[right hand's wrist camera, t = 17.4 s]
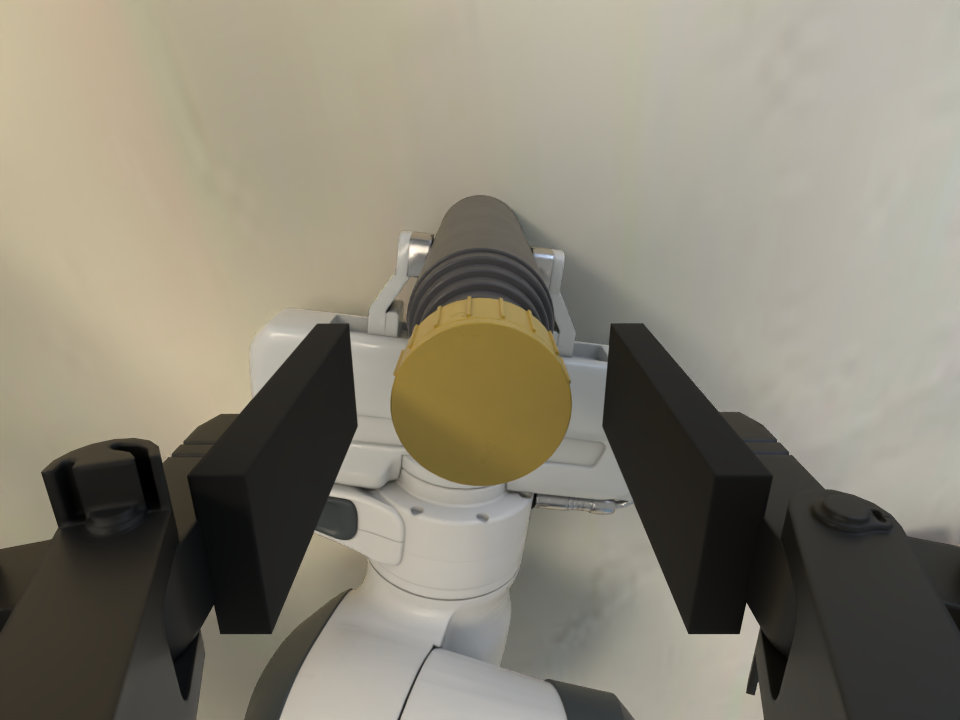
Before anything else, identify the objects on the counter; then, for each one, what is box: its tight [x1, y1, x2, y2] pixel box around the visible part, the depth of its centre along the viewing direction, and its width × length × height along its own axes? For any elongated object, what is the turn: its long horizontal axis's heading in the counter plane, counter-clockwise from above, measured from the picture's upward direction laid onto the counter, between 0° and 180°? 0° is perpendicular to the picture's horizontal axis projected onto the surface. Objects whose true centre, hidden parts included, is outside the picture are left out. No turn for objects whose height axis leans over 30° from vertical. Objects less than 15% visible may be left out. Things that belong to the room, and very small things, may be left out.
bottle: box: [407, 195, 555, 339], centre depth 23 cm, size 5×5×22 cm
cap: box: [390, 296, 572, 486], centre depth 13 cm, size 4×4×2 cm
